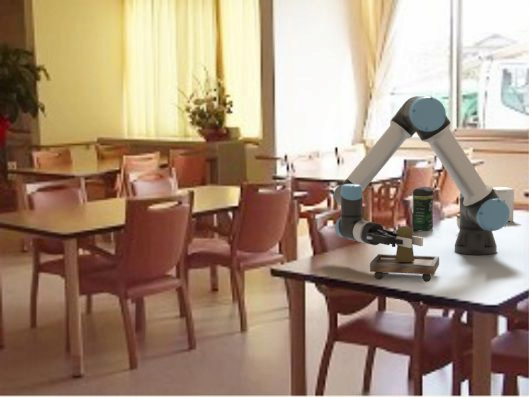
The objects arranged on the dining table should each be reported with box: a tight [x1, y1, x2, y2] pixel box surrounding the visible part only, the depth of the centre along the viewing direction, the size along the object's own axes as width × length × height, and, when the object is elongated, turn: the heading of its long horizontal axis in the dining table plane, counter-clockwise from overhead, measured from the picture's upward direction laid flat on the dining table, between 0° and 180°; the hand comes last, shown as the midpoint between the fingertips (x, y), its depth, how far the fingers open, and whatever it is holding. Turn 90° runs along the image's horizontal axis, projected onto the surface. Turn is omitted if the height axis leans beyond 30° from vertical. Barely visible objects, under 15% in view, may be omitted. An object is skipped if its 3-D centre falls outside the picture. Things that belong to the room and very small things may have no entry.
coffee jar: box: [411, 186, 434, 231], centre depth 354 cm, size 10×8×19 cm
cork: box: [395, 225, 415, 262], centre depth 264 cm, size 6×6×11 cm
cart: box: [369, 253, 440, 283], centre depth 265 cm, size 20×15×6 cm
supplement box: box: [492, 186, 515, 222], centre depth 374 cm, size 9×9×15 cm
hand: (416, 242), depth 259 cm, fingers closed on cork, 4 cm apart
